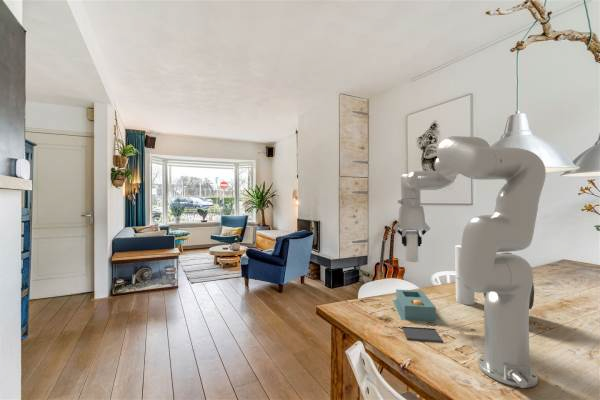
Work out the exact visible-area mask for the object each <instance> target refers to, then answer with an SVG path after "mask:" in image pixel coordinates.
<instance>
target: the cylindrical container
mask: <svg viewBox="0 0 600 400" xmlns="http://www.w3.org/2000/svg"><path fill="white" fill-rule="evenodd" d="M460 252H461V244H456V245H455V246H454V253H455V254H454V255H455V256H454V258H455V269H454V270H455V302H456V303H458V304H461V305H465V306H473V305H475V292H473V291H470V290H469V289H467V288H466V287H465V286H464V285H463V283H462V282H461V279H460V276H459V260H460Z"/></svg>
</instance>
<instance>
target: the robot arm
mask: <svg viewBox="0 0 600 400" xmlns="http://www.w3.org/2000/svg"><path fill="white" fill-rule="evenodd" d="M436 157H437V158H436V160H435V161H434V162H435V163H434V166H435V170H415V171H411V172H409V173H404V174H402V175H401V176H400V187H401V188H400V189H401V191H400V194H401V195H400V197H401V199H399V200H397V204H400V205H399V210H398V216H397V217H398V220H397V223H395V225H394V226H393V228H392V229H393V230H394V231H395V232H397V233H398V234H399V235H400V236H401V245H403V246H404V247H405V246H406V237H405V233H406V231H418V247H421V245H422V244H423V236H424V235H425V234H426V233H427V232H428V231H430V230H431V227H430V226H429V225H428V224H427V223H426V217H425V209H424V207H423V205H421V200H422V199H421V191H437V190H441V189H443V188H446V187H448V186H450V185H451V184H453V183H454V182H455V180H456V179H457V176H458V175H459V174H460V175H461V176H463V177H466V178H469V179H472V180H481V181H482V180H483V181H484V180H485V181H486V180H490V181H491V180H493V181H494V180H505V181H506V183H504V185H503V186H502V187H501V189H500V190H499V192H498V194H497V196H496V199H495V206H494V210H493V212H492V214H484V215H482V214H481V215H477V216H474V217H472V218H471V219H469V221H467V223H466V225H465V226H464V228H463V231H462V237H461V244H460V245H461V252H460V260H459V276H460V279H461V282H462V283H463V285H464V286H465V287H466V288H467V289H469V290H470V291H473V292H474V293H479V294H484V293H487V294H486V297H485V298H484V303H483V306H484V307H483V308H484V309H483V311H484V312H483V317H484V319H483V320H484V321H483V322H484V323H483V325H484V328H483V330H484V331H483V332H484V333H483V334H484V355H481V356H480V357H478V358H477V359H478V360H477V364H478V367H479V369H480V370H481V371H482V372H483V373H484V374H486V375H487V376H488V377H490V378H491V379H493V380H495V381H497V382H500V383H502V384H505V385H507V386H511V387H517V388H521V389H525V388H532V387H533V388H534V387H535V386H537V384H538V382H539V376H538V375H537V373H536V372H535V370H533V369H532V368H531V367H530V366H531V364H530V309H529V299H530V293H531V289H532V284H534V271H533V268H532V266H531V264H530V263H529V262H528V261H527V260H526V259H524V258H523V257H522V256H519V255H517V254H514V253H511V252H519V251H522V250H525V249H527V248H529V247H530V245H531V244H532V241H533V236H534V231H535V228H536V221H537V215H538V211H539V204H540V198H541V194H542V191H543V187H544V186H545V183H546V174H547V173H546V166H545V164H544V163H545V162H544V161H543V160H542V159H541V157H540V156H538V155H537V154H536V153H535V152H532V150H528V149H524V148H518V147H502V146H501V147H500V146H499V147H495V146H493V147H491V146H490V143H489V142H488V141H487V140H486V139H484V138H482V137H477V136H458V135H457V136H456V135H454V136H449V137H445V139H443V140H442V141H441V142H440V143H439V144H438V147H437V149H436ZM501 253H502V254H501ZM506 253H511V254H506Z"/></svg>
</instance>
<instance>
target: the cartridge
mask: <svg viewBox="0 0 600 400" xmlns="http://www.w3.org/2000/svg"><path fill="white" fill-rule="evenodd" d="M405 237H406V246H404V247H405V248H404V249H405V250H404V252H405V261H406V262H409V263H410V262H411V263H417V262H419V246H418V231H417V230H406V233H405Z"/></svg>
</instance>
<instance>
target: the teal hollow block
mask: <svg viewBox="0 0 600 400" xmlns="http://www.w3.org/2000/svg"><path fill="white" fill-rule="evenodd" d="M395 298H396V299H392V302H393V305H394V306H395V309H396V311H397V313H398V315H399V318H400V320H401V321H415V322H427V323H429V322H432V323H441V320H440V319H439V317H438V316H437V313H436V311H437V310H436V309H437V308H436V306H435V305H434V303H433V302H432V301H431V300H430V298H429V297H428V296H427V295H426V294H425V292H424V291H423V290H420V289H419V290H418V289H417V290H416V289H415V290H414V289H397V288H396V289H395ZM413 300H421V301H422V305H413Z"/></svg>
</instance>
